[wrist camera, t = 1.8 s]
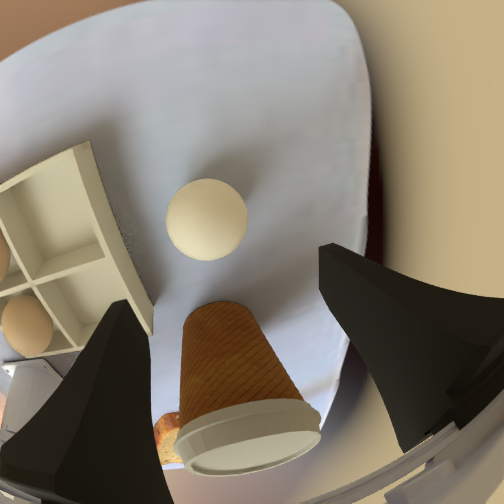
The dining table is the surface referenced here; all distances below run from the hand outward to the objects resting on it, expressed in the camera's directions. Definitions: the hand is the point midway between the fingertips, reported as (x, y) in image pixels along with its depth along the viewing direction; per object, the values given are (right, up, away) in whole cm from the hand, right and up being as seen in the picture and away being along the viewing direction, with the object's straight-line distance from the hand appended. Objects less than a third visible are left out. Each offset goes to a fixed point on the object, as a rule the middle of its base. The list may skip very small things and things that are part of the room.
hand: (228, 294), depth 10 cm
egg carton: (-14, +1, +6) cm, 15 cm away
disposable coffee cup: (-2, -5, +14) cm, 15 cm away
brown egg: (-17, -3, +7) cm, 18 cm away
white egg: (-2, +4, +7) cm, 9 cm away
